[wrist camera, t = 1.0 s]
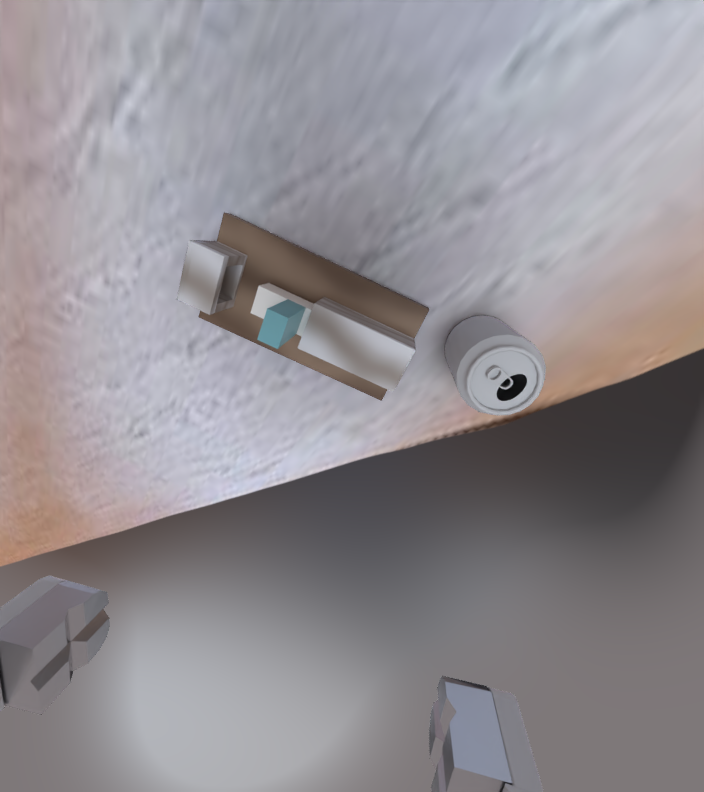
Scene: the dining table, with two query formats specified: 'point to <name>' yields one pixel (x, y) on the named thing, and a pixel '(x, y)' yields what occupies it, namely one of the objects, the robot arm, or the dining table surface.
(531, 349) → the can
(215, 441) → the dining table surface
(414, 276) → the dining table surface
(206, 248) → the brown board
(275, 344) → the white and teal block
